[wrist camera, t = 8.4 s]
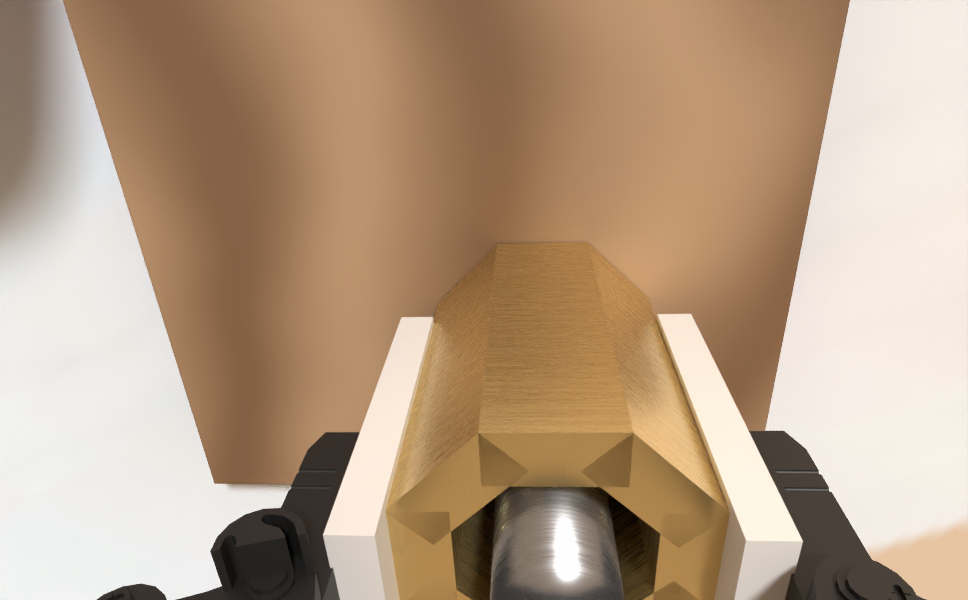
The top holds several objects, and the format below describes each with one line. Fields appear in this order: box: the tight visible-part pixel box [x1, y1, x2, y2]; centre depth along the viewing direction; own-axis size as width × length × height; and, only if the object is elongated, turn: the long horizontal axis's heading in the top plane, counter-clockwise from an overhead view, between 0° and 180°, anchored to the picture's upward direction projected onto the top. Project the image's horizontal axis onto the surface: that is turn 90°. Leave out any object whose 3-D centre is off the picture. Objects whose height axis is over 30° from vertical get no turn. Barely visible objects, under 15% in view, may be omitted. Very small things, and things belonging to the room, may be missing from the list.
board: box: [63, 0, 850, 484], centre depth 16 cm, size 16×14×2 cm
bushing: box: [385, 242, 730, 600], centre depth 13 cm, size 5×5×7 cm
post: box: [490, 487, 625, 600], centre depth 13 cm, size 3×3×8 cm
